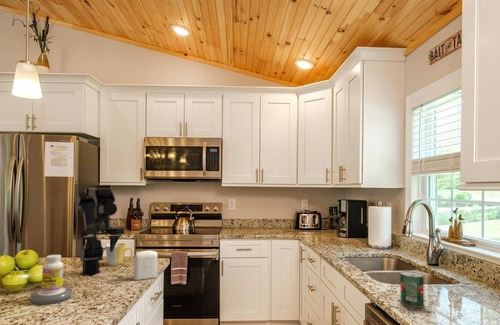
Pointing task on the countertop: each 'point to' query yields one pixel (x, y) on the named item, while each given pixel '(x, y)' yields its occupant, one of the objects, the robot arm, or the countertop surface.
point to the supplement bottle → (52, 274)
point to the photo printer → (145, 265)
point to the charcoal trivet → (50, 296)
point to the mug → (117, 254)
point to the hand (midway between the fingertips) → (102, 252)
